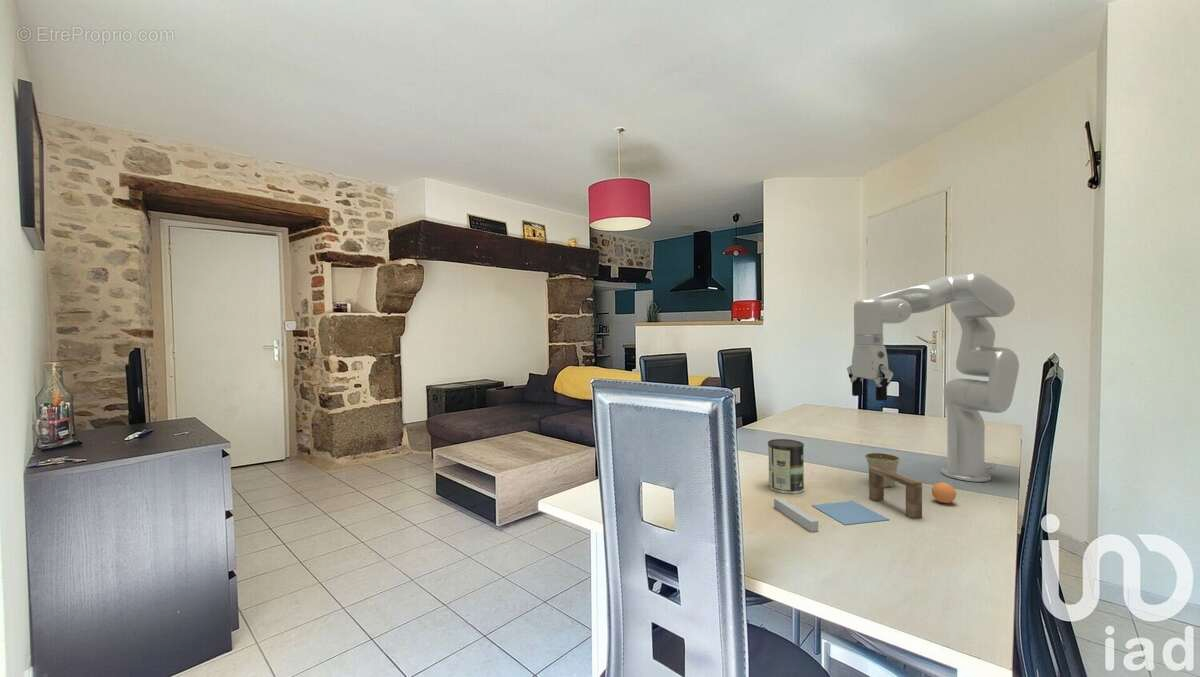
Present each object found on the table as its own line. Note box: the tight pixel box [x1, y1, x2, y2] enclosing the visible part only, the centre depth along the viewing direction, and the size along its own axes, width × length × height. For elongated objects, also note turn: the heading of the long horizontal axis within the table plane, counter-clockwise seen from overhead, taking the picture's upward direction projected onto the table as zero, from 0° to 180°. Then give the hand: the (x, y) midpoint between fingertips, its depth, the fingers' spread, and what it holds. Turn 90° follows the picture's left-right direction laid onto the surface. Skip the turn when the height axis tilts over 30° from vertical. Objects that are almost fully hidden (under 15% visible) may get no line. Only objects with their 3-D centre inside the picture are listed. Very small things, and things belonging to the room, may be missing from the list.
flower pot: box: [864, 452, 901, 488], centre depth 146 cm, size 9×9×9 cm
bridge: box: [868, 466, 923, 520], centre depth 127 cm, size 3×14×9 cm, turn 11°
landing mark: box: [811, 500, 890, 526], centre depth 124 cm, size 13×13×1 cm
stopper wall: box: [773, 497, 819, 533], centre depth 121 cm, size 2×16×2 cm, turn 11°
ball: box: [931, 482, 957, 504], centre depth 130 cm, size 6×6×6 cm
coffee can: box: [767, 438, 805, 495], centre depth 144 cm, size 10×10×14 cm
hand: (868, 397), depth 140 cm, fingers open, 9 cm apart
